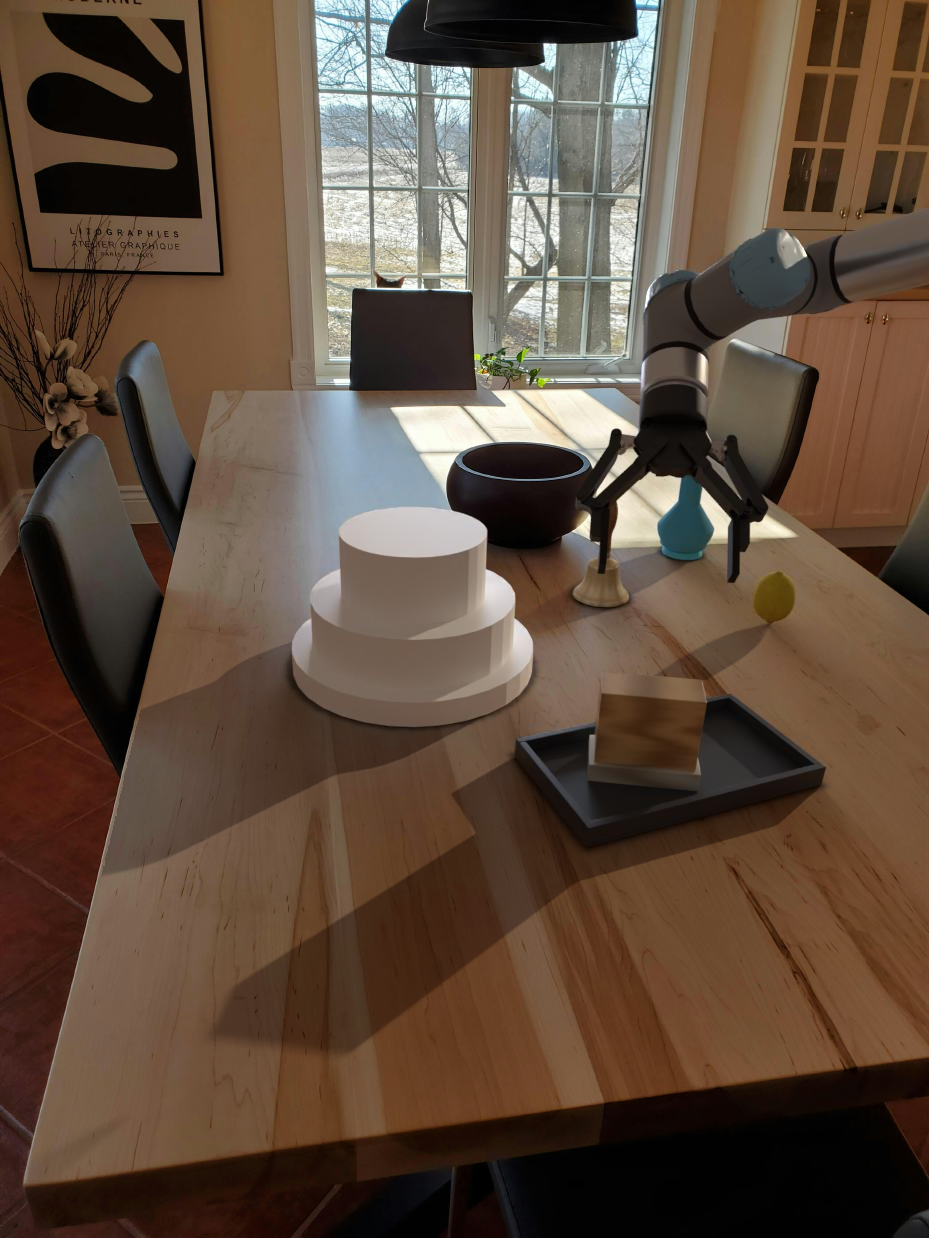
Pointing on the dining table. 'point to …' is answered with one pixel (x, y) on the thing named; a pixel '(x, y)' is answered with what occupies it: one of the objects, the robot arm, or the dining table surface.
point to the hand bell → (603, 577)
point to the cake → (412, 624)
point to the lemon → (774, 597)
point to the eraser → (647, 731)
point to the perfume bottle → (685, 524)
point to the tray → (730, 778)
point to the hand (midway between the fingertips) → (667, 574)
